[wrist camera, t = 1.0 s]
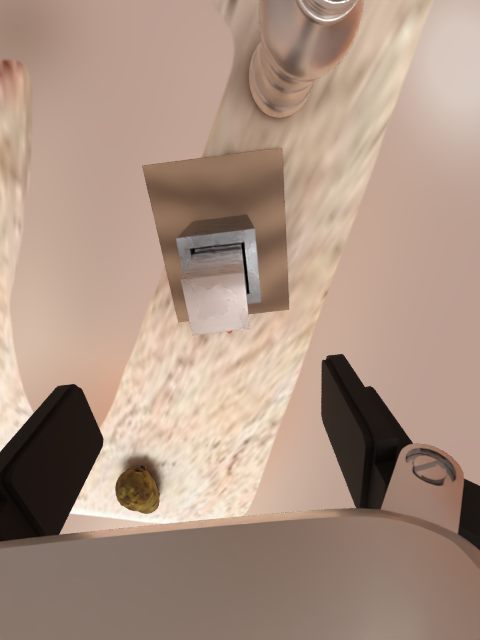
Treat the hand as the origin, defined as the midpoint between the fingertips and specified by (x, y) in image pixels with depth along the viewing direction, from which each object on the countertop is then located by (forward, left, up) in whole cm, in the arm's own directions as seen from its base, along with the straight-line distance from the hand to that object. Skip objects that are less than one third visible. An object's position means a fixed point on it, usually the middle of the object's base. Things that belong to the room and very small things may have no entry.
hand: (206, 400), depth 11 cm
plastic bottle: (-16, +8, -30) cm, 35 cm away
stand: (0, 0, -30) cm, 30 cm away
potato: (+43, -22, -30) cm, 57 cm away
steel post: (0, 0, -28) cm, 28 cm away
